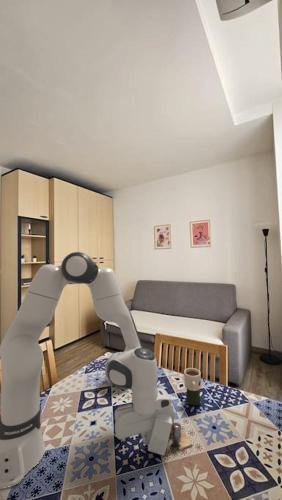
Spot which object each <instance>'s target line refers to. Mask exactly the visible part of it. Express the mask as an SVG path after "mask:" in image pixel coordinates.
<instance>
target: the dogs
mask: <svg viewBox="0 0 282 500" xmlns="http://www.w3.org/2000/svg"><path fill="white" fill-rule="evenodd" d="M181 426H182V425H181V424H180V423H179V422H173V423H172V427H171V431H170V435H169V437H170V438H171V440H172V441H171V442H172V443H171V444H172V446H173V448H175V449H178V451H182V450H185V449H188V448H190V447H193V443H192V441H191V440H190V439H189V437H188V436H187V434H186V433H185V432H184V430H183V428H182V427H181Z"/></svg>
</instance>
